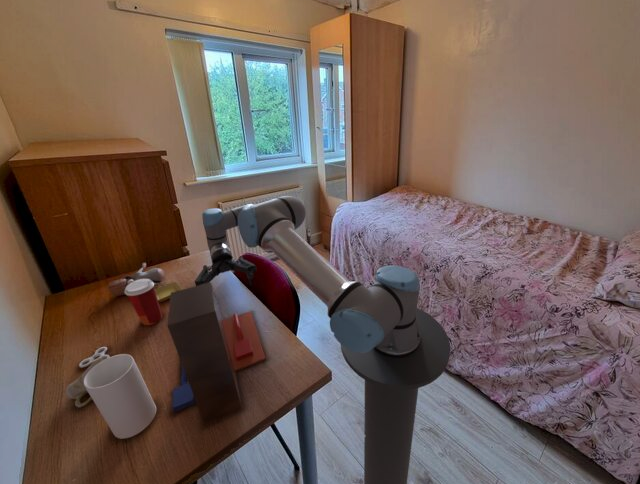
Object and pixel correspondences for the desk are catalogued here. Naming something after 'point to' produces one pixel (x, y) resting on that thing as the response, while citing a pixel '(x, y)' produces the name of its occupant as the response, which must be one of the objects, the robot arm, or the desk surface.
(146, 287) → the paper cup
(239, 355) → the red spatula
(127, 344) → the desk surface
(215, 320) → the stand
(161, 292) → the yellow square tray
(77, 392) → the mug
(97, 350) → the fidget spinner
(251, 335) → the mat
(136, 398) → the cup
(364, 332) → the robot arm
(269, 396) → the desk surface
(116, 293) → the anime character
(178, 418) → the desk surface
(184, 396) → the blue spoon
